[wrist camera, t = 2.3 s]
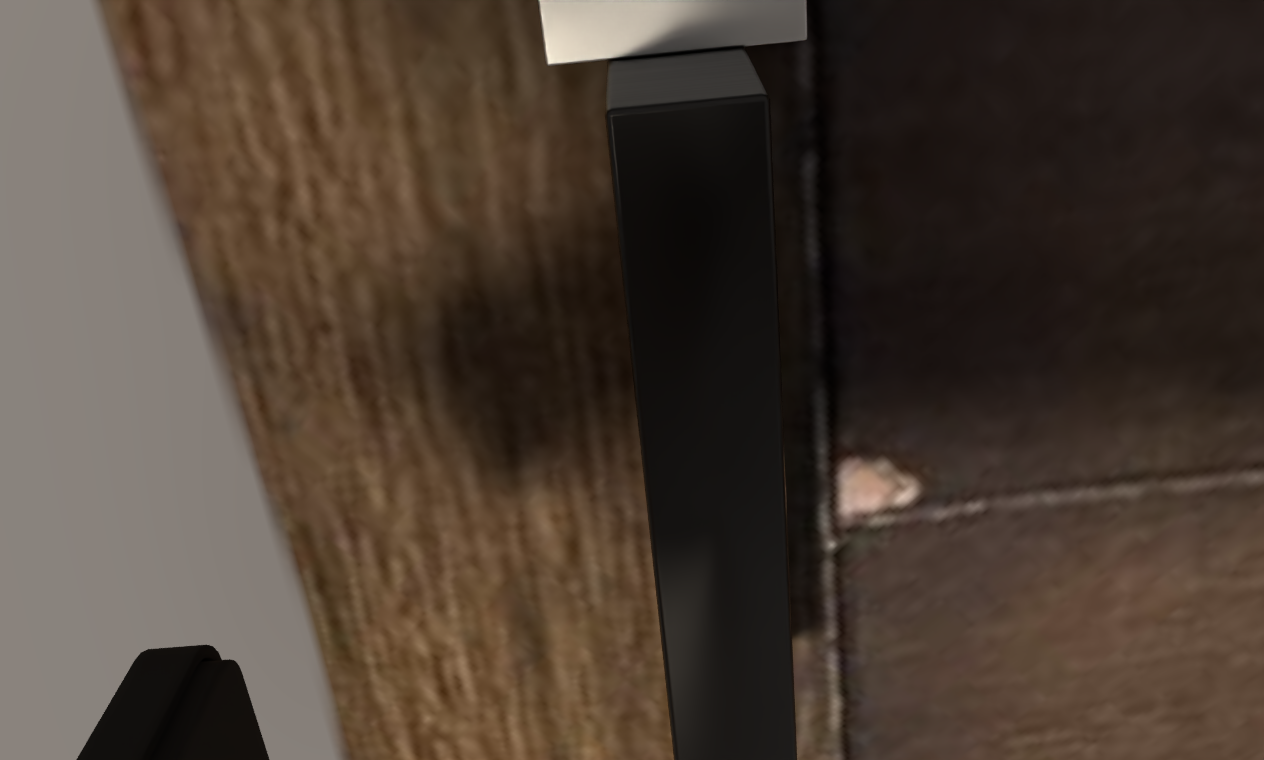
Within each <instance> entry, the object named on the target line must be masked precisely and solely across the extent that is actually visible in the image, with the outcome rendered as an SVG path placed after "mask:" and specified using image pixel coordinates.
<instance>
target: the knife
mask: <svg viewBox="0 0 1264 760" xmlns="http://www.w3.org/2000/svg"><path fill="white" fill-rule="evenodd" d="M538 8H539V16H540V23H541V31H542V39H543V47H544V55H545V62H546V65H547V66H556V65H566V64H576V63H586V62H596V61H606V60H608V65H607V87H606V110H605V118H606V128H607V137H608V146H609V156H610V165H611V174H612V184H613V193H614V202H615V212H616V221H617V230H618V240H619V249H620V258H621V268H622V277H623V286H624V296H625V305H626V315H627V324H628V333H629V343H630V352H631V361H632V371H633V380H634V389H635V399H636V408H637V417H638V427H639V436H640V445H641V455H642V464H643V473H644V483H645V492H646V501H647V511H648V520H649V529H650V539H651V548H652V558H653V567H654V576H655V586H656V595H657V604H658V614H659V623H660V632H661V642H662V651H663V660H664V670H665V679H666V688H667V698H668V707H669V716H670V726H671V735H672V744H673V754H674V760H797V747H796V723H795V699H794V674H793V650H792V626H791V601H790V577H789V553H788V528H787V504H786V479H785V455H784V431H783V406H782V382H781V358H780V333H779V309H778V285H777V260H776V236H775V212H774V187H773V163H772V138H771V114H770V99H769V97H768V95H767V93H766V91H765V89H764V87H763V85H762V83H761V81H760V79H759V77H758V75H757V73H756V70H755V68H754V66H753V64H752V62H751V60H750V58H749V56H748V54H747V52H746V50H745V48H744V47H746V46H756V45H766V44H776V43H786V42H797V41H805V40H807V38H808V27H807V0H538Z"/></svg>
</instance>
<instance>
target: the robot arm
mask: <svg viewBox="0 0 1264 760" xmlns="http://www.w3.org/2000/svg"><path fill="white" fill-rule="evenodd" d="M77 760H269V757H268V754H267V751H266V748H265V744H264V741H263V738H262V735H261V732H260V729H259V726H258V722H257V719H256V716H255V713H254V709H253V706H252V703H251V700H250V697H249V694H248V690H247V687H246V684H245V681H244V678H243V675H242V672H241V669H240V667H239V665H238V664H237V663H236V662H235V661H234V660H222V659H221V657H220V655H219V653H218V651H216V649H215V648H214V647H213V646H210V645H198V646H185V647H173V648H159V649H148V650H146V651H144V652H142V653H140V655H139V656H138V657H137V658H136V660H135V661H134V663H133V664H132V666H131V668H130V669H129V671H128V673H127V674H126V676H125V678H124V680H123V681H122V683H121V685H120V686H119V688H118V690H117V692H116V693H115V695H114V697H113V698H112V700H111V702H110V704H109V705H108V707H107V709H106V710H105V712H104V714H103V715H102V717H101V719H100V721H99V722H98V724H97V726H96V727H95V729H94V731H93V732H92V734H91V736H90V738H89V739H88V741H87V743H86V745H85V746H84V748H83V750H82V751H81V753H80V755H79V756H78V758H77Z"/></svg>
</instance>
